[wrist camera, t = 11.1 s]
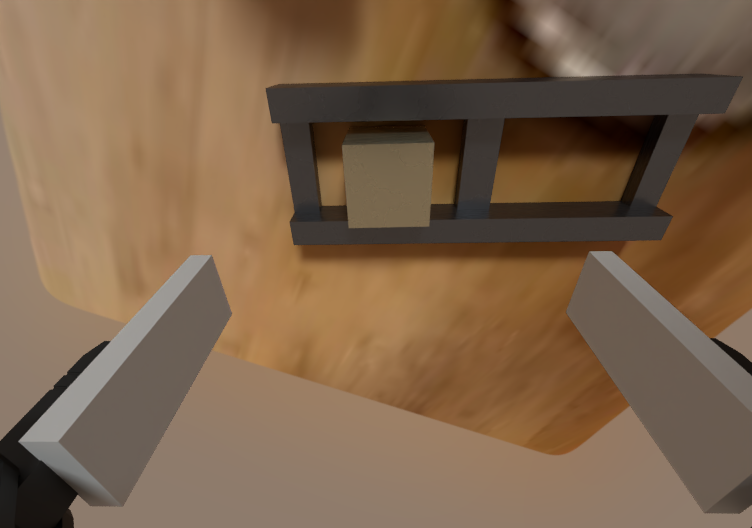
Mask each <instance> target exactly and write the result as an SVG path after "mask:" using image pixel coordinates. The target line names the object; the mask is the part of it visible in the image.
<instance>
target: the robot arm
mask: <svg viewBox="0 0 752 528" xmlns="http://www.w3.org/2000/svg"><path fill="white" fill-rule="evenodd" d="M566 313H567V315H568V316H569V318H570V319H571V321H572V322H573V323H574V325H575V326H576V328H577V329H578V331H579V332H580V334H581V335H582V337H583V338H584V339H585V341H586V342H587V344H588V345H589V347H590V348H591V350H592V351H593V352H594V354H595V355H596V357H597V358H598V360H599V361H600V363H601V364H602V366H603V367H604V368H605V370H606V371H607V373H608V374H609V376H610V377H611V379H612V380H613V382H614V383H615V384H616V386H617V387H618V389H619V390H620V392H621V393H622V395H623V396H624V397H625V399H626V400H627V402H628V403H629V405H630V406H631V408H632V409H633V410H634V412H635V413H636V415H637V416H638V418H639V419H640V421H641V422H642V424H643V425H644V426H645V428H646V429H647V431H648V432H649V434H650V435H651V437H652V438H653V440H654V441H655V443H656V444H657V445H658V447H659V448H660V450H661V451H662V453H663V454H664V456H665V457H666V458H667V460H668V461H669V463H670V464H671V466H672V467H673V469H674V470H675V472H676V473H677V474H678V476H679V477H680V479H681V480H682V481H683V483H684V485H685V486H686V488H687V489H688V490H689V492H690V493H691V495H692V496H693V498H694V499H695V501H696V502H697V503H698V505H699V506H700V508H701V509H702V511H703V512H704V513H738V514H739V513H741V512H743V511H744V510H745V509H747V508H748V507H749V506H750V505H752V362H750V361H749V360H748V359H747V358H746V357H745V356H743V355H742V354H741V353H739V352H738V351H736V350H734V349H733V348H731V347H729V346H727V345H726V344H724V343H722V342H721V341H719V340H717V339H716V338H709V337H708V336H706V335H705V334H704V333H703V332H702V331H701V330H700V329H699V328H697V327H696V326H695V325H694V324H693V323H692V322H691V321H690V320H688V319H687V318H686V317H685V316H684V315H683V314H682V313H681V312H680V311H678V310H677V309H676V308H675V307H674V306H673V305H672V304H671V303H669V302H668V301H667V300H666V299H665V298H664V297H663V296H662V295H660V294H659V293H658V292H657V291H656V290H655V289H654V288H653V287H651V286H650V285H649V284H648V283H647V282H646V281H645V280H644V279H643V278H641V277H640V276H639V275H638V274H637V273H636V272H635V271H634V270H632V269H631V268H630V267H629V266H628V265H627V264H626V263H625V262H623V261H622V260H621V259H620V258H619V257H618V256H617V255H616V254H614V253H613V252H612V251H589V253H588V256H587V258H586V261H585V263H584V266H583V269H582V271H581V274H580V276H579V279H578V282H577V284H576V287H575V290H574V292H573V295H572V297H571V300H570V303H569V305H568V308H567V311H566ZM231 315H232V312H231V309H230V307H229V304H228V301H227V298H226V295H225V292H224V289H223V286H222V283H221V280H220V278H219V275H218V272H217V269H216V266H215V263H214V260H213V257H212V255H190V257H189V258H188V259H187V260H186V261H185V262H184V263H183V264H182V265H181V266H180V267H179V268H178V269H177V271H176V272H175V273H174V274H173V275H172V276H171V277H170V278H169V279H168V280H167V281H166V282H165V284H164V285H163V286H162V287H161V288H160V289H159V290H158V291H157V292H156V293H155V294H154V295H153V296H152V298H151V299H150V300H149V301H148V302H147V303H146V304H145V305H144V306H143V307H142V308H141V309H140V311H139V312H138V313H137V314H136V315H135V316H134V317H133V318H132V319H131V320H130V321H129V322H128V323H127V325H126V326H125V327H124V328H123V329H122V330H121V331H120V332H119V333H118V334H117V335H116V336H115V338H114V339H113V340H112V341H104V342H103V343H101V344H100V345H98V346H97V347H95V348H94V349H92V350H91V351H89V352H88V353H86V354H85V355H83V356H82V357H81V358H80V360H78V362H77V363H76V364H75V365H74V366H73V367H72V368H71V369H70V370H69V371H68V372H67V375H64V376H63V377H62V378H61V379H60V380H59V381H58V382H57V383H56V384H55V385H54V389H53V390H49V391H48V392H47V393H46V394H45V396H44V397H43V398H42V399H41V400H40V401H39V402H38V403H37V404H36V405H35V406H34V407H33V408H32V409H31V410H30V411H29V412H28V413H27V414H26V415H25V416H24V417H23V418H22V419H21V420H20V421H19V422H18V423H17V424H16V425H15V426H14V427H13V428H12V429H11V430H10V431H9V433H7V434H6V436H5V437H4V438H3V439H2V440H1V441H0V528H74V522H73V516H72V514H71V511H70V510H69V509H68V508H69V506H70V505H71V503H72V502H73V501H74V499H75V498H76V496H77V495H79V496H80V497H81V498H82V499H83V500H85V501H86V502H87V503H88V504H89V505H90V506H124V504H125V502H126V500H127V498H128V497H129V495H130V493H131V491H132V490H133V488H134V486H135V484H136V483H137V481H138V479H139V477H140V476H141V474H142V472H143V470H144V468H145V467H146V465H147V463H148V461H149V460H150V458H151V456H152V454H153V453H154V451H155V449H156V447H157V445H158V444H159V442H160V440H161V438H162V437H163V435H164V433H165V431H166V430H167V428H168V426H169V424H170V422H171V421H172V419H173V417H174V416H175V414H176V412H177V410H178V408H179V407H180V405H181V403H182V401H183V399H184V398H185V396H186V394H187V393H188V391H189V389H190V387H191V385H192V384H193V382H194V380H195V378H196V377H197V375H198V373H199V371H200V370H201V368H202V366H203V364H204V362H205V361H206V359H207V357H208V356H209V354H210V352H211V350H212V348H213V347H214V345H215V343H216V341H217V340H218V338H219V336H220V334H221V333H222V331H223V329H224V327H225V326H226V324H227V322H228V320H229V319H230V317H231ZM751 528H752V527H751Z"/></svg>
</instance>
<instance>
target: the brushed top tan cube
mask: <svg viewBox="0 0 752 528" xmlns="http://www.w3.org/2000/svg"><path fill="white" fill-rule="evenodd" d="M342 153H343V165H344V177H345V189H346V201H347V213H348V225H349V228H382V227H429V222H430V206H431V190H432V174H433V158H434V141H433V139H432V138H431V136H430V134H429V132H428V131H427V129H426V127H425V125H421V126H387V127H353V128H349V130H348V132H347V134H346V137H345V139H344V141H343V144H342Z"/></svg>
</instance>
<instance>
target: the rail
mask: <svg viewBox="0 0 752 528" xmlns="http://www.w3.org/2000/svg"><path fill="white" fill-rule="evenodd" d="M742 78H743V77H741V76H727V75H713V74H669V75H628V76H588V77H548V78H508V79H468V80H427V81H387V82H347V83H307V84H278V85H274V86H271V87H268V88H266V93H267V99H268V104H269V110H270V115H271V121H272V123H280V126H281V132H282V138H283V144H284V150H285V156H286V162H287V168H288V174H289V180H290V186H291V192H292V198H293V204H294V210H295V213H294V215H293V217H292V219H291V220H290V227H291V232H292V238H293V243H294V245H330V244H406V243H482V242H559V241H635V240H661V239H662V237H663V235H664V233H665V231H666V229H667V227H668V225H669V223H670V221H671V219H672V217H673V216H672V215H670V214H668V213H666V212H665V211H663V210H661V209H659V208H658V207H656V206H657V204H658V202H659V199H660V197H661V195H662V193H663V191H664V189H665V186H666V184H667V182H668V180H669V178H670V176H671V173H672V171H673V169H674V167H675V165H676V163H677V161H678V158H679V156H680V154H681V152H682V150H683V148H684V145H685V143H686V141H687V139H688V137H689V135H690V133H691V130H692V128H693V126H694V124H695V122H696V120H697V117H698V115H699V114H719V113H725V112H726V110H727V108H728V106H729V104H730V102H731V100H732V98H733V96H734V94H735V92H736V90H737V88H738V86H739V84H740V82H741V80H742ZM628 115H655V117H654V119H653V122H652V124H651V127H650V129H649V132H648V134H647V137H646V139H645V142H644V145H643V147H642V150H641V152H640V155H639V157H638V160H637V162H636V165H635V167H634V170H633V172H632V175H631V177H630V180H629V182H628V185H627V187H626V190H625V192H624V195H623V197H622V200H621V201H605V202H542V203H490V201H491V195H492V189H493V183H494V178H495V172H496V166H497V160H498V155H499V149H500V143H501V137H502V131H503V126H504V120H505V118H537V117H583V116H628ZM447 119H464V124H463V133H462V142H461V151H460V160H459V168H458V177H457V186H456V195H455V204H431V206H430V222H429V227H382V228H349V225H348V213H347V206H322V203H321V194H320V186H319V177H318V169H317V161H316V152H315V144H314V135H313V127H312V122H356V121H401V120H447Z"/></svg>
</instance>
